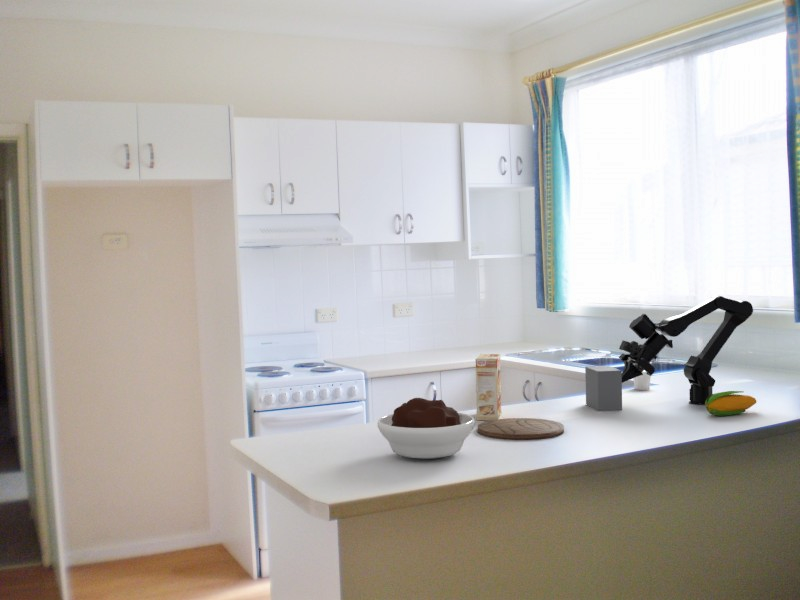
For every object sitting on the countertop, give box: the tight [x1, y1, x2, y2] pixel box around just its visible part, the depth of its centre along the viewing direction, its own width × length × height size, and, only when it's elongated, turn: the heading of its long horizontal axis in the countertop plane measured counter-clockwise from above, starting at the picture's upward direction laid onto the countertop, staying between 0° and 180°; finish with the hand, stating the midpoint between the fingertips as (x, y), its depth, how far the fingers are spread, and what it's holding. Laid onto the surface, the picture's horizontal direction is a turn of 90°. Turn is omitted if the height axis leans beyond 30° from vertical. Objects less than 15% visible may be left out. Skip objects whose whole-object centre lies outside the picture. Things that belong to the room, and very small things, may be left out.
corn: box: [704, 390, 757, 417], centre depth 260 cm, size 7×8×20 cm
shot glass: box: [633, 370, 652, 391], centre depth 315 cm, size 7×7×7 cm
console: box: [584, 365, 623, 412], centre depth 277 cm, size 8×13×13 cm, turn 5°
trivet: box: [477, 417, 565, 441], centre depth 241 cm, size 25×25×2 cm
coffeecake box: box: [475, 353, 502, 421], centre depth 266 cm, size 15×7×20 cm, turn 168°
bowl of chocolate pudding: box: [377, 397, 476, 460], centre depth 213 cm, size 25×25×15 cm
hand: (619, 382), depth 277 cm, fingers closed, pressing on button
